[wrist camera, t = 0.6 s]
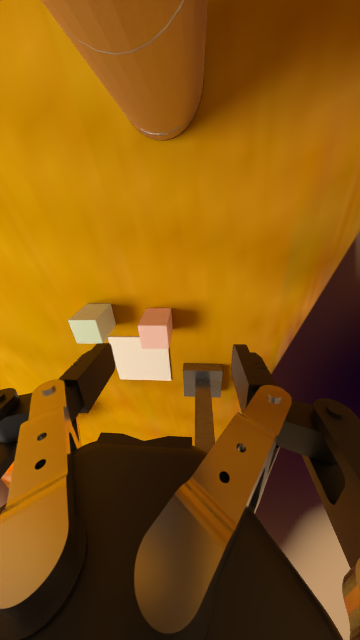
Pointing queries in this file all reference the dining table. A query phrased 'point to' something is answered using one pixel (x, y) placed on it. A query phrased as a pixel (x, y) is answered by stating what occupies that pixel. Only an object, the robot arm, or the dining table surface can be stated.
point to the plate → (139, 359)
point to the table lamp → (203, 399)
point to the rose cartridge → (156, 328)
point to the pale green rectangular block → (92, 323)
